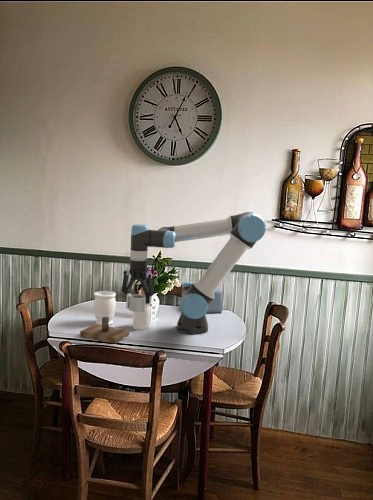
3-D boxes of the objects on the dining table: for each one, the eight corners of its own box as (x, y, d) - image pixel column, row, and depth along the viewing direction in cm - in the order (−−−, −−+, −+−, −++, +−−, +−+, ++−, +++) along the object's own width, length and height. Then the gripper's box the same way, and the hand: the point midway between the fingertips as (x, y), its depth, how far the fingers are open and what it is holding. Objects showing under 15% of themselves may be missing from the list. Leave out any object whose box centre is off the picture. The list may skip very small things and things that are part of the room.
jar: (110, 327, 219) (111, 296, 217) (90, 325, 221) (90, 294, 219) (118, 321, 230) (119, 291, 227) (98, 318, 232) (99, 289, 229)
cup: (130, 329, 219) (130, 308, 217) (137, 321, 230) (138, 302, 229) (147, 330, 217) (147, 310, 216) (153, 323, 229) (154, 303, 227)
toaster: (187, 306, 264) (188, 278, 262) (214, 305, 268) (215, 278, 266) (195, 314, 248) (196, 285, 246) (223, 313, 253) (225, 285, 250)
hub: (149, 308, 211) (149, 295, 210) (141, 312, 204) (141, 299, 203) (134, 306, 214) (134, 293, 213) (125, 310, 207) (126, 297, 206)
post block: (129, 335, 209) (129, 317, 208) (115, 343, 198) (116, 324, 197) (94, 329, 216) (95, 311, 215) (80, 336, 205) (80, 318, 203)
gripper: (163, 260, 205) (161, 310, 208) (122, 255, 212) (120, 304, 216) (156, 263, 198) (154, 314, 201) (113, 258, 205) (112, 307, 209)
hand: (136, 309), depth 208 cm, fingers closed on hub, 8 cm apart
